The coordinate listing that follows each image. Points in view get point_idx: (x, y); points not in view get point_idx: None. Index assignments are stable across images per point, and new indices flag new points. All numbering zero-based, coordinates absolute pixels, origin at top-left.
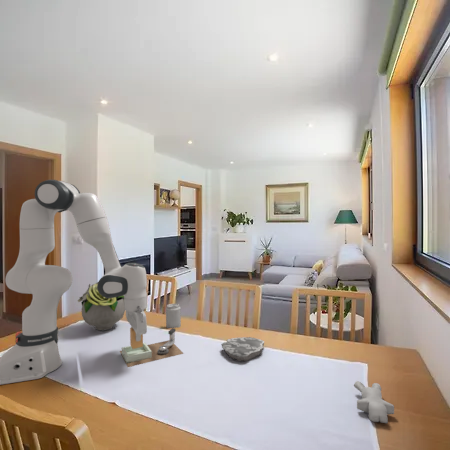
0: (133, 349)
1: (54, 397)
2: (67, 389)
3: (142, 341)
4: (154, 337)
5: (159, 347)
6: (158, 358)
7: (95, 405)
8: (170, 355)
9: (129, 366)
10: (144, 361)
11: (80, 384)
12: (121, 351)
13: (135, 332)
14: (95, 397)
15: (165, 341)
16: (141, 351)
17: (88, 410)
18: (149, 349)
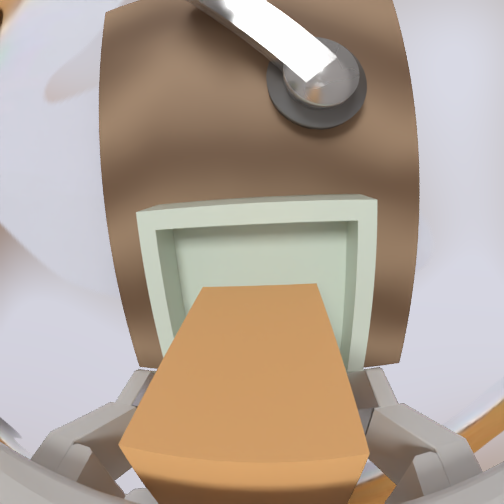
0: (180, 309)
1: (382, 495)
2: (365, 487)
3: (325, 315)
4: (6, 122)
5: (316, 100)
6: (401, 152)
7: (494, 420)
8: (389, 58)
9: (397, 354)
10: (394, 260)
11: (363, 472)
12: (150, 360)
13: (390, 500)
14: (466, 428)
15: (108, 41)
16: (224, 251)
17: (496, 428)
18: (327, 207)
